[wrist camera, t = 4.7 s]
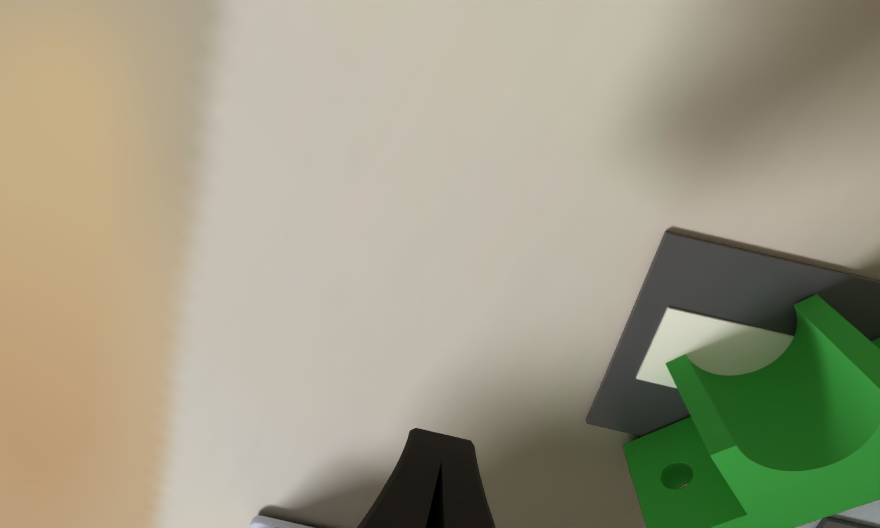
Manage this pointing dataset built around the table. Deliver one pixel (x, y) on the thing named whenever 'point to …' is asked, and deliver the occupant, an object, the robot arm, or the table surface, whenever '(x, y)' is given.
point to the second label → (714, 324)
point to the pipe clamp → (769, 435)
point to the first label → (838, 524)
